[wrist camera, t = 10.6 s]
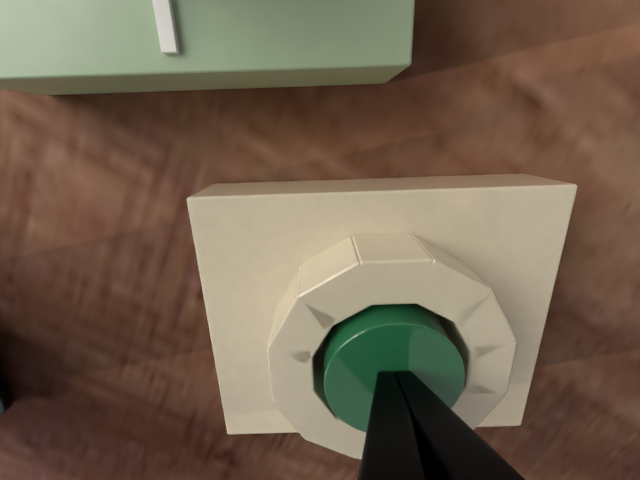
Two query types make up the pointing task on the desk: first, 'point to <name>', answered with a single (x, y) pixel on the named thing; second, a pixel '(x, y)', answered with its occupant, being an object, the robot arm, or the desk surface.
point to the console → (200, 44)
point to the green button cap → (387, 357)
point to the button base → (374, 285)
